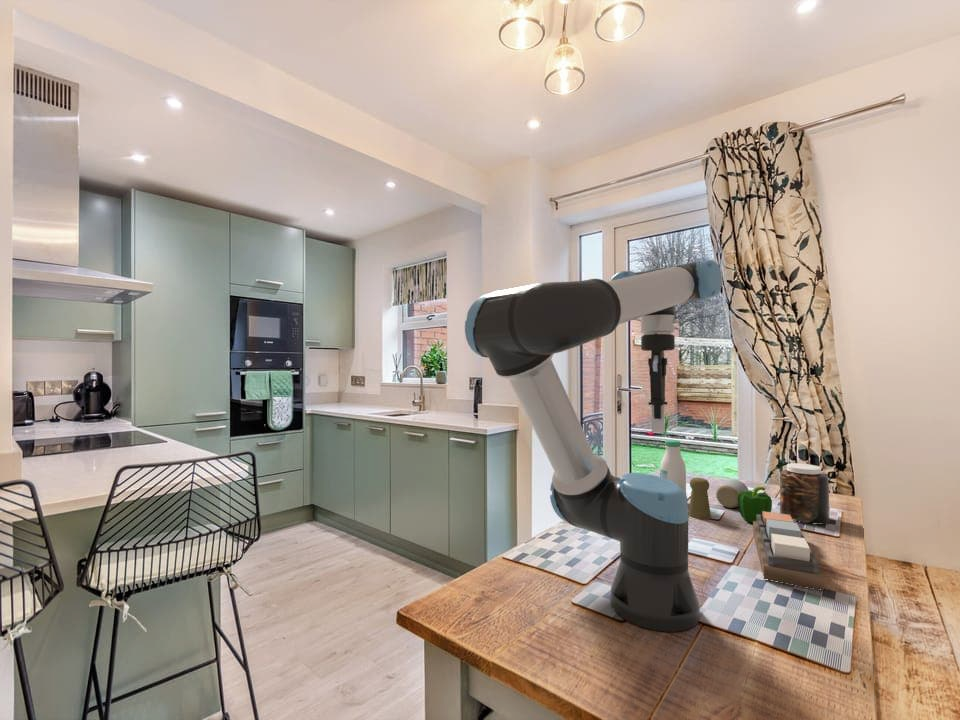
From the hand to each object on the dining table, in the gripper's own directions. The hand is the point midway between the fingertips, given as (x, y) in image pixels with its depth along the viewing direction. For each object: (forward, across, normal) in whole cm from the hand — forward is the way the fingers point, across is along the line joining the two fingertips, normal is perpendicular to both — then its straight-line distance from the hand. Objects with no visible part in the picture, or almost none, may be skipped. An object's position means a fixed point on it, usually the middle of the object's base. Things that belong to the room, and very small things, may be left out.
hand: (658, 431), depth 109 cm
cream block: (+24, -2, -26) cm, 35 cm away
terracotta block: (+25, +19, -26) cm, 41 cm away
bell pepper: (+29, +34, -22) cm, 50 cm away
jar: (+29, +44, -35) cm, 63 cm away
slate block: (+24, +9, -26) cm, 36 cm away
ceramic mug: (+29, +47, -18) cm, 58 cm away
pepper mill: (+29, +32, -8) cm, 44 cm away
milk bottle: (+29, +42, 0) cm, 51 cm away
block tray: (+28, +9, -26) cm, 40 cm away
